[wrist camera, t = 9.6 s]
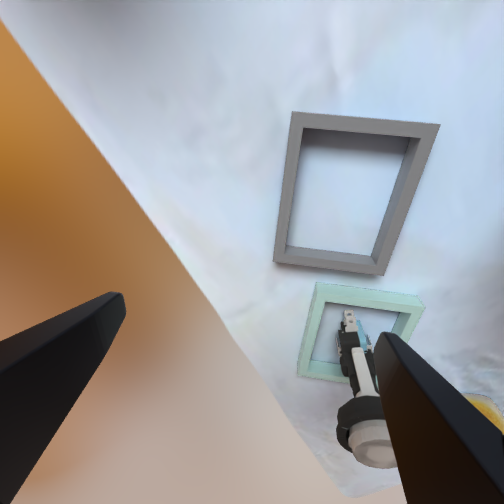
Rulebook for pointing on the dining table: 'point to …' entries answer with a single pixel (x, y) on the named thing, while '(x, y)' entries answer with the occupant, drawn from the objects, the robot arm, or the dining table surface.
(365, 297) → the mint green frame
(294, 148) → the grey rectangular frame
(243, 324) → the dining table surface
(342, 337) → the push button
